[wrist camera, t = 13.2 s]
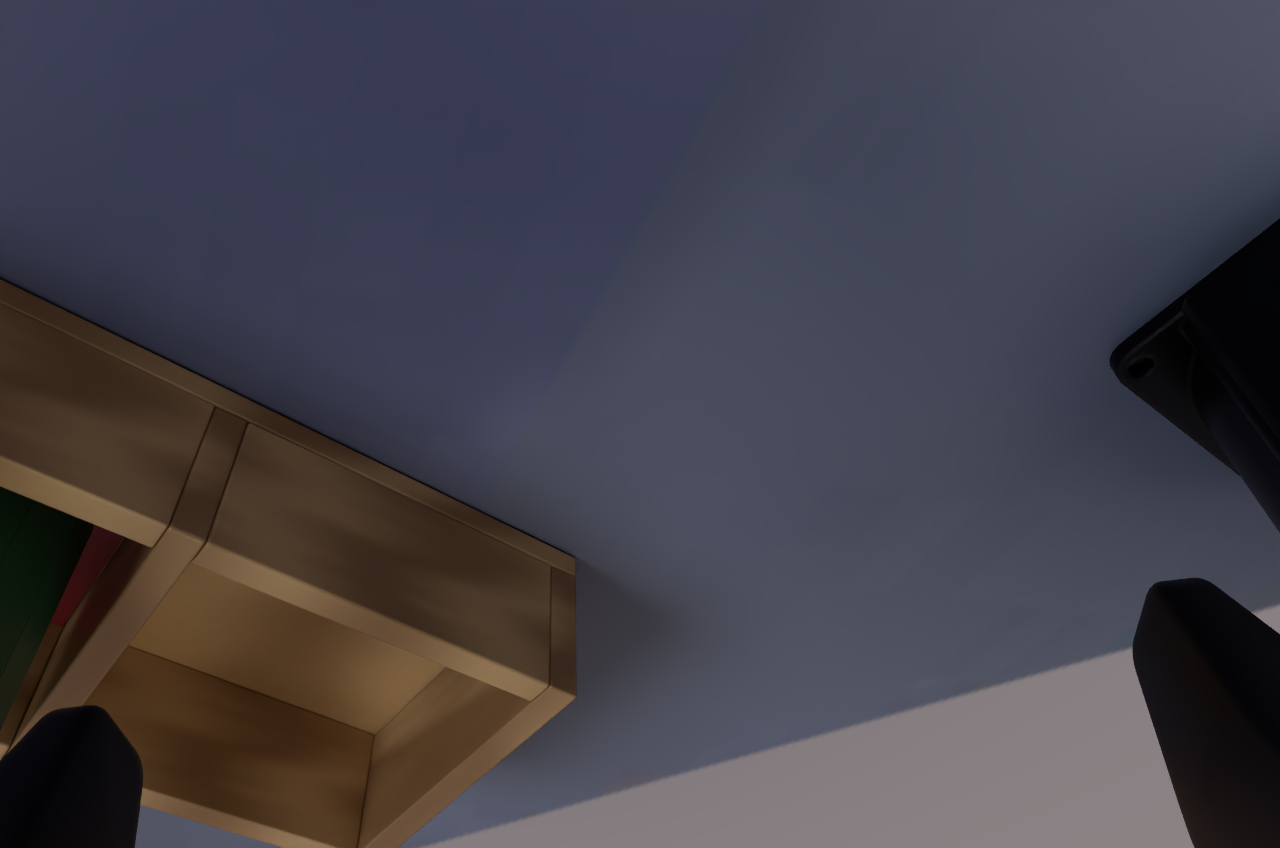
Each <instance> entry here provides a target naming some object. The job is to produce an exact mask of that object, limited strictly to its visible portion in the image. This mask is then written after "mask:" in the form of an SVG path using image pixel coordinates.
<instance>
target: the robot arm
mask: <svg viewBox="0 0 1280 848" xmlns="http://www.w3.org/2000/svg"><path fill="white" fill-rule="evenodd" d="M1140 358H1144V359H1143V360H1142V361H1141V362H1140V363H1138V364H1136V365H1131V364H1132V363H1133V362H1134V361H1136V360H1138V359H1140ZM1110 367H1111V368H1112V370H1113V371H1114V373H1115V375H1116V376H1117V378H1118V379H1119V381H1120V382H1121V383H1122V384H1123V385H1124V386H1126V387H1127V388H1128V389H1130V390H1131V391H1132V392H1133V393H1135V394H1136V395H1137V396H1139V397H1140V398H1141V399H1142V400H1144V401H1145V402H1146V403H1147V404H1149V405H1150V406H1151V407H1153V408H1154V409H1155V410H1156V411H1158V412H1159V413H1160V414H1161V415H1163V416H1164V417H1165V418H1167V419H1168V420H1169V421H1170V422H1172V423H1173V424H1174V425H1176V426H1177V427H1178V428H1179V429H1181V430H1182V431H1183V432H1184V433H1186V434H1187V435H1188V436H1190V437H1191V438H1192V439H1193V440H1195V441H1196V442H1197V443H1199V444H1200V445H1201V446H1202V447H1204V448H1205V449H1206V450H1207V451H1209V452H1210V453H1211V454H1213V455H1214V456H1215V457H1216V458H1218V459H1219V460H1220V461H1221V462H1223V463H1224V464H1225V465H1227V466H1228V467H1229V468H1230V469H1232V470H1233V471H1234V472H1236V473H1237V474H1238V475H1239V476H1241V478H1242V479H1243V480H1244V482H1245V483H1246V485H1247V486H1248V488H1249V489H1250V491H1251V492H1252V493H1253V495H1254V496H1255V498H1256V499H1257V501H1258V502H1259V504H1260V505H1261V506H1262V508H1263V509H1264V511H1265V512H1266V514H1267V515H1268V517H1269V518H1270V519H1271V521H1272V522H1273V524H1274V525H1275V527H1276V528H1277V530H1278V531H1279V532H1280V219H1279V220H1277V221H1276V222H1275V223H1274V224H1272V225H1271V226H1270V227H1269V228H1267V229H1266V230H1265V231H1263V232H1262V233H1261V234H1260V235H1258V236H1257V237H1256V238H1254V239H1253V240H1252V241H1251V242H1249V243H1248V244H1247V245H1246V246H1244V247H1243V248H1242V249H1240V250H1239V251H1238V252H1237V253H1235V254H1234V255H1233V256H1232V257H1230V258H1229V259H1228V260H1226V261H1225V262H1224V263H1223V264H1221V265H1220V266H1219V267H1218V268H1216V269H1215V270H1214V271H1212V272H1211V273H1210V274H1209V275H1207V276H1206V277H1205V278H1203V279H1202V280H1201V281H1200V282H1198V283H1197V284H1196V285H1195V286H1193V287H1192V288H1191V289H1189V290H1188V291H1187V292H1186V293H1184V294H1183V295H1182V296H1181V297H1179V298H1178V299H1177V300H1175V301H1174V302H1173V303H1172V304H1170V305H1169V306H1168V307H1166V308H1165V309H1164V310H1163V311H1161V312H1160V313H1159V314H1158V315H1156V316H1155V317H1154V318H1152V319H1151V320H1150V321H1149V322H1147V323H1146V324H1145V325H1144V326H1142V327H1141V328H1140V329H1138V330H1137V331H1136V332H1135V333H1133V334H1132V335H1131V336H1130V337H1128V338H1127V339H1126V340H1124V341H1123V342H1122V343H1121V344H1119V345H1118V346H1117V348H1116V349H1115V350H1114V351H1113V352H1112V354H1111V357H1110ZM1133 660H1134V665H1135V669H1136V673H1137V676H1138V679H1139V682H1140V685H1141V688H1142V692H1143V695H1144V698H1145V701H1146V704H1147V707H1148V710H1149V713H1150V716H1151V719H1152V723H1153V726H1154V729H1155V732H1156V735H1157V738H1158V741H1159V744H1160V747H1161V750H1162V754H1163V757H1164V759H1165V763H1166V766H1167V769H1168V772H1169V775H1170V778H1171V781H1172V784H1173V788H1174V791H1175V793H1176V797H1177V800H1178V803H1179V806H1180V809H1181V812H1182V815H1183V818H1184V821H1185V823H1186V826H1187V829H1188V832H1189V835H1190V838H1191V840H1192V843H1193V845H1194V847H1195V848H1280V634H1279V633H1277V632H1276V631H1275V630H1273V629H1272V628H1271V627H1269V626H1268V625H1267V624H1265V623H1264V622H1263V621H1261V620H1260V619H1259V618H1258V617H1256V616H1255V615H1254V614H1252V613H1251V612H1250V611H1248V610H1247V609H1246V608H1244V607H1243V606H1242V605H1240V604H1239V603H1238V602H1236V601H1235V600H1234V599H1232V598H1231V597H1230V596H1228V595H1227V594H1226V593H1224V592H1223V591H1222V590H1221V589H1219V588H1218V587H1217V586H1215V585H1214V584H1212V583H1211V582H1209V581H1206V580H1204V579H1201V578H1187V579H1178V580H1170V581H1161V582H1157V583H1155V584H1154V585H1153V586H1152V587H1150V588H1149V590H1148V593H1147V595H1146V599H1145V602H1144V606H1143V609H1142V612H1141V616H1140V619H1139V623H1138V626H1137V630H1136V633H1135V637H1134V641H1133ZM142 789H143V766H142V762H141V759H140V756H139V754H138V753H137V751H136V750H135V748H134V747H133V746H132V744H131V743H130V741H129V740H128V739H127V737H126V736H125V735H124V733H123V732H122V731H121V729H120V728H119V727H118V725H117V724H116V723H115V721H114V720H113V719H112V717H111V716H110V715H109V713H108V712H107V711H106V710H105V709H104V708H102V707H99V706H97V705H86V706H77V707H68V708H60V709H56V710H53V711H51V712H49V713H47V714H46V715H45V716H43V717H42V718H41V719H40V720H39V721H38V722H37V723H36V724H35V725H34V726H33V727H32V728H31V729H30V730H29V731H28V732H27V733H26V734H25V735H24V736H23V738H22V739H21V740H20V741H19V742H18V743H17V744H16V745H15V746H14V747H13V748H12V749H11V750H10V751H9V752H8V753H7V754H6V755H5V756H4V757H3V758H2V760H1V761H0V848H135V841H136V833H137V826H138V818H139V811H140V803H141V796H142Z"/></svg>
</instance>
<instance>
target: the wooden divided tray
mask: <svg viewBox="0 0 1280 848" xmlns="http://www.w3.org/2000/svg"><path fill="white" fill-rule="evenodd" d="M0 486H1V487H3V488H6V489H8V490H10V491H13V492H15V493H18V494H20V495H23V496H25V497H28V498H30V499H33V500H35V501H38V502H40V503H42V504H45V505H47V506H50V507H52V508H55V509H57V510H60V511H62V512H65V513H67V514H70V515H72V516H74V517H77V518H79V519H82V520H84V521H87V522H89V523H92V524H94V527H93V531H92V533H91V535H90V537H89V539H88V542H87V544H86V546H85V548H84V550H83V552H82V555H81V557H80V559H79V561H78V563H77V565H76V568H75V570H74V572H73V574H72V576H71V579H70V581H69V583H68V585H67V587H66V589H65V592H64V594H63V596H62V598H61V600H60V602H59V605H58V607H57V609H56V611H55V613H54V615H53V618H52V620H51V622H50V624H49V626H48V628H47V631H46V633H45V635H44V637H43V639H42V641H41V644H40V646H39V648H38V650H37V652H36V654H35V657H34V659H33V661H32V663H31V665H30V667H29V670H28V672H27V674H26V676H25V678H24V680H23V683H22V685H21V687H20V689H19V691H18V693H17V696H16V698H15V700H14V702H13V704H12V706H11V709H10V711H9V713H8V715H7V717H6V719H5V722H4V724H3V726H2V728H1V730H0V760H1V759H2V758H3V757H4V756H5V755H6V754H7V753H8V752H9V751H10V750H11V749H12V748H13V747H14V746H15V745H16V744H17V743H18V742H19V741H20V740H21V739H22V738H23V736H24V735H25V734H26V733H27V732H28V731H29V730H30V729H31V728H32V727H33V726H34V725H35V724H36V723H37V722H38V721H39V720H40V719H41V718H42V717H43V716H45V715H46V714H47V713H49V712H51V711H53V710H56V709H60V708H68V707H77V706H86V705H97V706H99V707H102V708H104V709H105V710H106V711H107V712H108V713H109V715H110V716H111V717H112V719H113V720H114V721H115V723H116V724H117V725H118V727H119V728H120V729H121V731H122V732H123V733H124V735H125V736H126V737H127V739H128V740H129V741H130V743H131V744H132V746H133V747H134V748H135V750H136V751H137V753H138V754H139V756H140V759H141V762H142V766H143V789H142V796H141V803H140V805H142V806H146V807H149V808H153V809H156V810H159V811H163V812H166V813H169V814H173V815H176V816H179V817H183V818H186V819H189V820H193V821H196V822H199V823H203V824H206V825H209V826H213V827H216V828H219V829H223V830H226V831H229V832H233V833H236V834H239V835H243V836H246V837H249V838H253V839H256V840H259V841H263V842H266V843H269V844H273V845H276V846H279V847H283V848H398V847H399V846H400V845H401V844H403V843H404V842H405V841H406V840H407V839H409V838H410V837H411V836H412V835H413V834H415V833H416V832H417V831H418V830H419V829H420V828H422V827H423V826H424V825H425V824H426V823H428V822H429V821H430V820H431V819H432V818H434V817H435V816H436V815H437V814H438V813H440V812H441V811H442V810H443V809H444V808H446V807H447V806H448V805H449V804H450V803H451V802H453V801H454V800H455V799H456V798H457V797H459V796H460V795H461V794H462V793H463V792H465V791H466V790H467V789H468V788H469V787H471V786H472V785H473V784H474V783H475V782H477V781H478V780H479V779H480V778H481V777H482V776H484V775H485V774H486V773H487V772H488V771H490V770H491V769H492V768H493V767H494V766H496V765H497V764H498V763H499V762H500V761H502V760H503V759H504V758H505V757H506V756H508V755H509V754H510V753H511V752H512V751H513V750H515V749H516V748H517V747H518V746H519V745H521V744H522V743H523V742H524V741H525V740H527V739H528V738H529V737H530V736H531V735H533V734H534V733H535V732H536V731H537V730H539V729H540V728H541V727H542V726H543V725H544V724H546V723H547V722H548V721H549V720H550V719H552V718H553V717H554V716H555V715H556V714H558V713H559V712H560V711H561V710H562V709H564V708H565V707H566V706H567V705H568V704H570V703H571V702H572V701H573V700H574V699H575V698H576V696H577V682H576V579H575V575H576V563H575V558H573V557H571V556H569V555H567V554H565V553H563V552H561V551H559V550H557V549H555V548H553V547H551V546H549V545H547V544H545V543H543V542H540V541H538V540H536V539H534V538H532V537H530V536H528V535H526V534H524V533H522V532H520V531H518V530H516V529H514V528H512V527H510V526H508V525H505V524H503V523H501V522H499V521H497V520H495V519H493V518H491V517H489V516H487V515H485V514H483V513H481V512H479V511H477V510H475V509H473V508H470V507H468V506H466V505H464V504H462V503H460V502H458V501H456V500H454V499H452V498H450V497H448V496H446V495H444V494H442V493H440V492H438V491H435V490H433V489H431V488H429V487H427V486H425V485H423V484H421V483H419V482H417V481H415V480H413V479H411V478H409V477H407V476H405V475H403V474H400V473H398V472H396V471H394V470H392V469H390V468H388V467H386V466H384V465H382V464H380V463H378V462H376V461H374V460H372V459H370V458H368V457H365V456H363V455H361V454H359V453H357V452H355V451H353V450H351V449H349V448H347V447H345V446H343V445H341V444H339V443H337V442H335V441H333V440H330V439H328V438H326V437H324V436H322V435H320V434H318V433H316V432H314V431H312V430H310V429H308V428H306V427H304V426H302V425H300V424H298V423H295V422H293V421H291V420H289V419H287V418H285V417H283V416H281V415H279V414H277V413H275V412H273V411H271V410H269V409H267V408H265V407H263V406H260V405H258V404H256V403H254V402H252V401H250V400H248V399H246V398H244V397H242V396H240V395H238V394H236V393H234V392H232V391H230V390H227V389H225V388H223V387H221V386H219V385H217V384H215V383H213V382H211V381H209V380H207V379H205V378H203V377H201V376H199V375H197V374H195V373H192V372H190V371H188V370H186V369H184V368H182V367H180V366H178V365H176V364H174V363H172V362H170V361H168V360H166V359H164V358H162V357H160V356H157V355H155V354H153V353H151V352H149V351H147V350H145V349H143V348H141V347H139V346H137V345H135V344H133V343H131V342H129V341H127V340H125V339H122V338H120V337H118V336H116V335H114V334H112V333H110V332H108V331H106V330H104V329H102V328H100V327H98V326H96V325H94V324H92V323H90V322H87V321H85V320H83V319H81V318H79V317H77V316H75V315H73V314H71V313H69V312H67V311H65V310H63V309H61V308H59V307H57V306H55V305H52V304H50V303H48V302H46V301H44V300H42V299H40V298H38V297H36V296H34V295H32V294H30V293H28V292H26V291H24V290H22V289H20V288H17V287H15V286H13V285H11V284H9V283H7V282H5V281H3V280H1V279H0Z"/></svg>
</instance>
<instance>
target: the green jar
mask: <svg viewBox="0 0 1280 848" xmlns="http://www.w3.org/2000/svg"><path fill="white" fill-rule="evenodd" d="M93 527H94V524H92V523H89V522H87V521H84V520H82V519H79V518H77V517H74V516H72V515H70V514H67V513H65V512H62V511H60V510H57V509H55V508H52V507H50V506H47V505H45V504H42V503H40V502H38V501H35V500H33V499H30V498H28V497H25V496H23V495H20V494H18V493H15V492H13V491H10V490H8V489H6V488H3V487H1V486H0V730H1V728H2V726H3V724H4V722H5V719H6V717H7V715H8V713H9V711H10V709H11V706H12V704H13V702H14V700H15V698H16V696H17V693H18V691H19V689H20V687H21V685H22V683H23V680H24V678H25V676H26V674H27V672H28V670H29V667H30V665H31V663H32V661H33V659H34V657H35V654H36V652H37V650H38V648H39V646H40V644H41V641H42V639H43V637H44V635H45V633H46V631H47V628H48V626H49V624H50V622H51V620H52V618H53V615H54V613H55V611H56V609H57V607H58V605H59V602H60V600H61V598H62V596H63V594H64V592H65V589H66V587H67V585H68V583H69V581H70V579H71V576H72V574H73V572H74V570H75V568H76V565H77V563H78V561H79V559H80V557H81V555H82V552H83V550H84V548H85V546H86V544H87V542H88V539H89V537H90V535H91V533H92V531H93Z"/></svg>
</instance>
